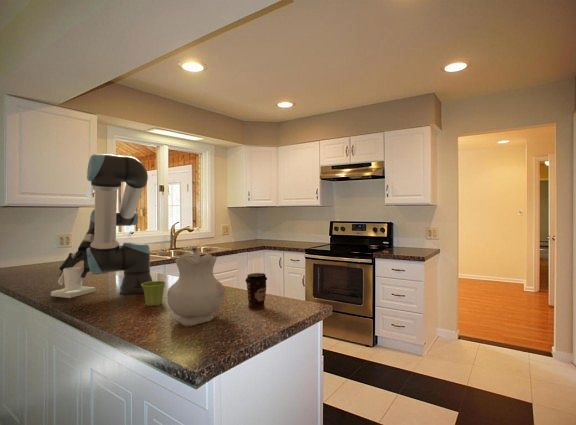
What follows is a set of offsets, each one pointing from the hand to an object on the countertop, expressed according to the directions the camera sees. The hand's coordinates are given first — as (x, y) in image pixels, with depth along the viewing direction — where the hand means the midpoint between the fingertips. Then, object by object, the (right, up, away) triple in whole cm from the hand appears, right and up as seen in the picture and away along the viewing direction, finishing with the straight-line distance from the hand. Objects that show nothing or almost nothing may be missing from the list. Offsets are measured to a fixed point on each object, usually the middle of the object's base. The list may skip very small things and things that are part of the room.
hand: (68, 283), depth 154 cm
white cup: (0, -4, +3) cm, 5 cm away
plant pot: (+47, -5, -17) cm, 50 cm away
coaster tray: (0, -6, +3) cm, 7 cm away
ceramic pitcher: (+69, -5, -37) cm, 79 cm away
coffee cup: (+90, -4, -25) cm, 93 cm away
